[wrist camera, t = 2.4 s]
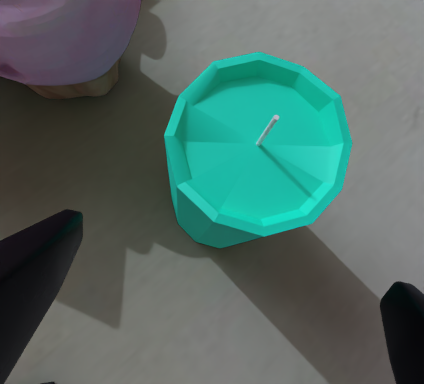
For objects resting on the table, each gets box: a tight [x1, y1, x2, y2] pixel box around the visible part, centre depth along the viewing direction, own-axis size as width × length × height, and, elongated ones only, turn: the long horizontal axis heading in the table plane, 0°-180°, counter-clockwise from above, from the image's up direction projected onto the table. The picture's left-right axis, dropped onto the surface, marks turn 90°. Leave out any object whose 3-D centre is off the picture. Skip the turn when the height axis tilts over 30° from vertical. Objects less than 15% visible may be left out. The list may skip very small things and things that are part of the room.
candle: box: [164, 52, 352, 249], centre depth 14 cm, size 6×6×12 cm
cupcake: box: [0, 0, 141, 99], centre depth 16 cm, size 9×9×10 cm
